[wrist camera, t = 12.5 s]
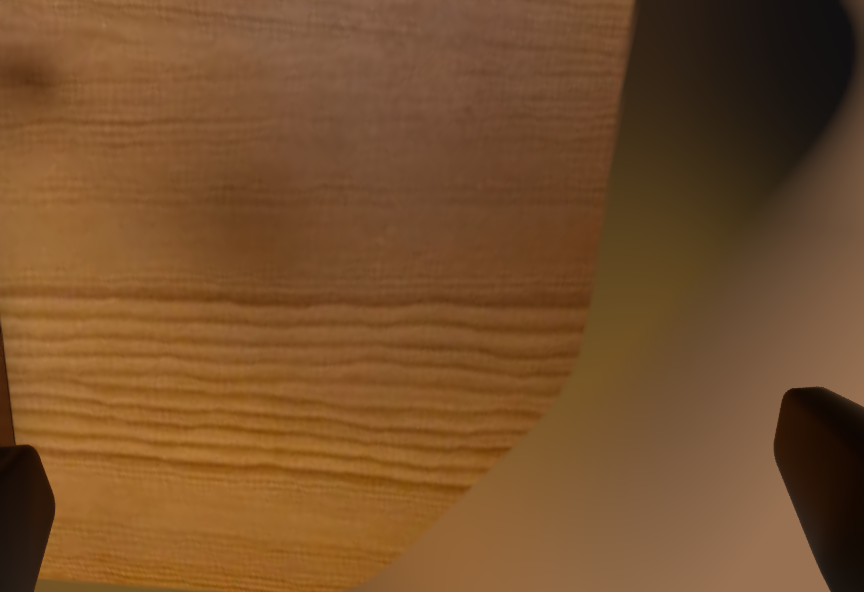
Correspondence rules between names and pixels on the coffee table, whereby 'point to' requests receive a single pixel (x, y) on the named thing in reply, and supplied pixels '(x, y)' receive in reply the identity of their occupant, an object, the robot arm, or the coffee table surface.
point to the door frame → (4, 406)
